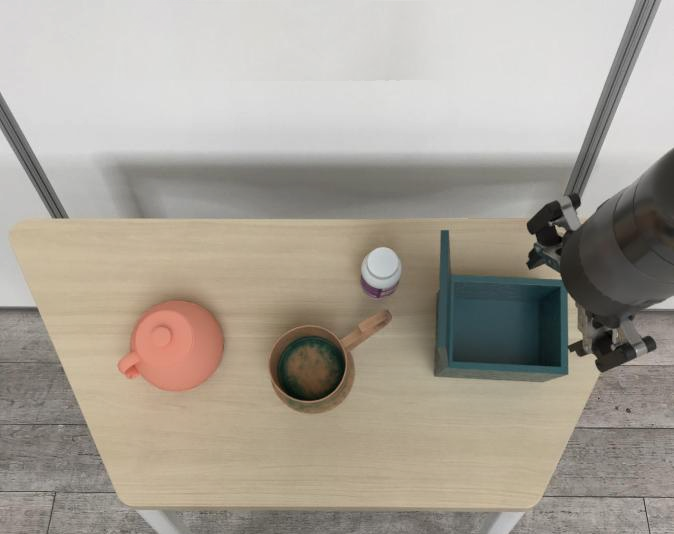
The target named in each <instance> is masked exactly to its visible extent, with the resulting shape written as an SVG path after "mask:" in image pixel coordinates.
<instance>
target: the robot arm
mask: <svg viewBox="0 0 674 534" xmlns="http://www.w3.org/2000/svg"><path fill="white" fill-rule="evenodd" d="M581 205H582V200H581V197H580V196H579V194H578V193H577V192H573V193H569V194H567V195H565V196H562V197H560V198H557V199H555V200H553V201H550V202H548V203H545V205H544V206H542V207H541V208H540V209H539V210H538V211H537V212H536V213H535V214H534V215H533V216H532V217H530V219H529V220H528V221H527V222H526V229H527V232H528V233H529V235H531V236H535V239H536V241H534V242H533V247H532V249H530V251H528V254H527V257H528V260H527V262H525V264H526V266H527V268H528V270H529V271H531V270H534V269H536V268H538V267H540V266H543V265H545V266H547V267H548V268H550V269H552V270H554V272H557V273H559V276H560V278H561V280H562V281H563V284H564V286H565V288H566V290H567V292H568V295H569V296H570V297H571V299H573V301H574V302H575V303H574V306H575V307H576V309H577V330H578V331H579V332H580V333H581V334H582V339H579V340H577V341H575V342H573V343H571V344H568V346H567V347H568V352H569V354H571V353H573V352H575V353H576V356H577V357H579V358H582V357H585V356H588V355H591V354H592V355H594V356H595V358H596V359H595V360H594V364H595V367H596V369H597V370H598V371H599V373H602V374H603V373H605V372H608V371H610V370H612V369H615V368H617V367H620V366H621V365H624V364H626V363H629V362H631V361H634V360H635V359H637V358H640V357H643V356H644V355H648V354H649V353H651V352H654V351H656V350H657V348H658V347H657V343H656V341H655V339H654V338H653V337H652V336H651V335H646V336H645V335H644V336H643V337H642V334H640V333H639V332H638V330H637V329H636V327H635V324H634V322H633V321H634V320H635V318H636V315H637V313H639V312H642V311H643V310H646V309H648V308H650V307H653V306H655V305H658V304H662V303H663V302H665V301H667V299H670V298H672V297H674V147H672V148H671V149H669V150H668V151H667V152H666V153H664V154H663V155H661V157H659V158H658V159H657V160H656V161H655V162H654V163H652V164H651V165H650V166H649V167H648V168H647V169H646V170H645V171H644V172H643V173H642V174H641V175H639V176H638V177H637V178H636V179H635V180H634V181H633V182H632V183H631V184H630V185H628V186H626V187H624V188H623V189H620V190H619V191H618V192H616V193H614V195H612V196H611V197H610V198H607V199H606V200H605V201H604V202H602V203H601V204H599V206H597V207H596V210H595V211H594V212H593V213H592V215H590V216H589V217H588V218H587V219H586V220H585V221H584V222H583V223H582V222H581V220H580V218H579V217H578V216H579V215H578V214H579V213H578V209H579V208H580V207H581ZM556 226H557V227H558V228H563V229H564V230H565V232H562V231H557V228H556Z"/></svg>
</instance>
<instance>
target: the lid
mask: <svg viewBox="0 0 674 534" xmlns="http://www.w3.org/2000/svg"><path fill="white" fill-rule="evenodd" d="M450 241H451V240H450V230H449V229H441V230H440V242H439V244H440V245H439V246H440V248H439V279H438V280H439V283H438V290H439V315H438V351H439V355H440V359H441V363H442V368H449V351H450V309H451V274H452V260H451V247H450V246H451V244H450V243H451V242H450Z"/></svg>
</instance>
